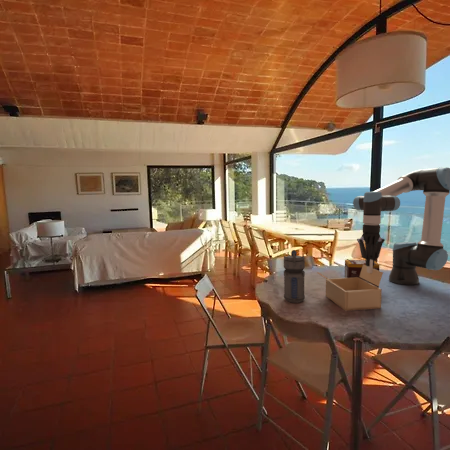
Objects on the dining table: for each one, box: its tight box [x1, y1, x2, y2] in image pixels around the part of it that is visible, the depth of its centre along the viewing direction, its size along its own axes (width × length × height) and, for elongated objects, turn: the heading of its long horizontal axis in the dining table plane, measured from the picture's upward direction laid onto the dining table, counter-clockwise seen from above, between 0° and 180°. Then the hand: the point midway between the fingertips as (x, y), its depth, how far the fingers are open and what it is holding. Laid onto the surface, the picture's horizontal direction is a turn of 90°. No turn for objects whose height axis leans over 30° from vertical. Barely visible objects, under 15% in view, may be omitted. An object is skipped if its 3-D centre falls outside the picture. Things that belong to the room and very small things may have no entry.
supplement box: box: [344, 259, 380, 288], centre depth 162 cm, size 10×15×16 cm
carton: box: [325, 277, 383, 312], centre depth 145 cm, size 17×21×9 cm
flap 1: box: [317, 271, 343, 289], centre depth 143 cm, size 1×16×7 cm
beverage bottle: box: [283, 249, 306, 304], centre depth 149 cm, size 10×13×25 cm
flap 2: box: [359, 265, 384, 287], centre depth 145 cm, size 1×16×7 cm, turn 5°
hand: (369, 272), depth 145 cm, fingers closed
